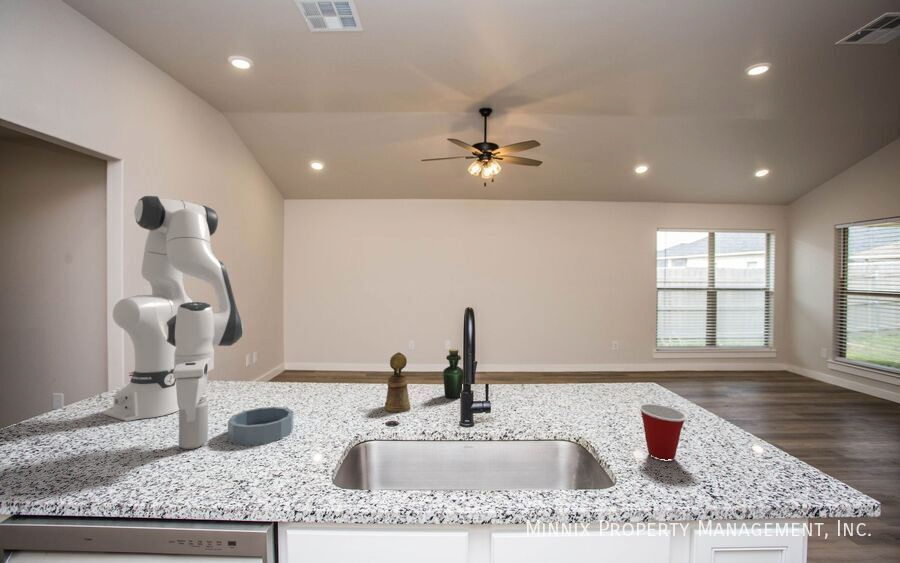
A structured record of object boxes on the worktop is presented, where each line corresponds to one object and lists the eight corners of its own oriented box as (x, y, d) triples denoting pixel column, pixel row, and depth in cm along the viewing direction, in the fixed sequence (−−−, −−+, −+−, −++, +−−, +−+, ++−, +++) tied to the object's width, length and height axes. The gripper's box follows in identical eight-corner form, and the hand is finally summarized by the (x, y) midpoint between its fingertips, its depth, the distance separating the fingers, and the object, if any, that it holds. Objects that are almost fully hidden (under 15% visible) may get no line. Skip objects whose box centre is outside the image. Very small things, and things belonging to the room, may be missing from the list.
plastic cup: (686, 471, 91) (687, 420, 91) (636, 459, 97) (636, 411, 97) (687, 454, 100) (687, 407, 101) (641, 444, 106) (641, 400, 106)
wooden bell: (410, 400, 145) (411, 352, 145) (410, 412, 131) (410, 359, 131) (386, 400, 144) (386, 352, 144) (383, 413, 130) (384, 359, 130)
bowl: (214, 441, 106) (214, 423, 106) (258, 420, 122) (258, 404, 122) (265, 448, 102) (265, 429, 102) (304, 426, 117) (304, 409, 117)
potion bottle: (447, 392, 155) (448, 347, 155) (466, 395, 152) (467, 349, 152) (439, 398, 148) (439, 350, 148) (459, 400, 144) (459, 352, 145)
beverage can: (193, 451, 99) (193, 404, 99) (172, 449, 100) (172, 402, 100) (213, 441, 105) (213, 397, 105) (193, 439, 107) (193, 395, 107)
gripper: (187, 357, 111) (186, 406, 111) (171, 373, 92) (170, 431, 92) (213, 356, 114) (212, 403, 114) (202, 371, 95) (201, 427, 95)
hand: (193, 416), depth 103 cm, fingers closed on beverage can, 6 cm apart
